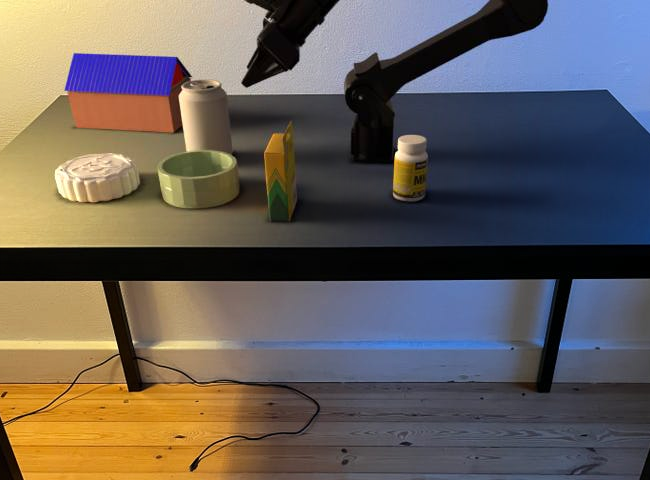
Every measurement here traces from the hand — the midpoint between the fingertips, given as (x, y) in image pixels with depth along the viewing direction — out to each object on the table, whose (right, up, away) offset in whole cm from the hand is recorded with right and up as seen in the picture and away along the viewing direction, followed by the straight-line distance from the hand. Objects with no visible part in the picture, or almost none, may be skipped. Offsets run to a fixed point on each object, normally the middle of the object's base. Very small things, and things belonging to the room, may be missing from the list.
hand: (246, 77), depth 106 cm
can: (-7, -11, +8) cm, 15 cm away
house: (-24, +2, +24) cm, 34 cm away
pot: (-6, -19, -4) cm, 20 cm away
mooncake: (-22, -18, -1) cm, 28 cm away
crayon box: (+7, -23, -9) cm, 25 cm away
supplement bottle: (+25, -20, -5) cm, 32 cm away
